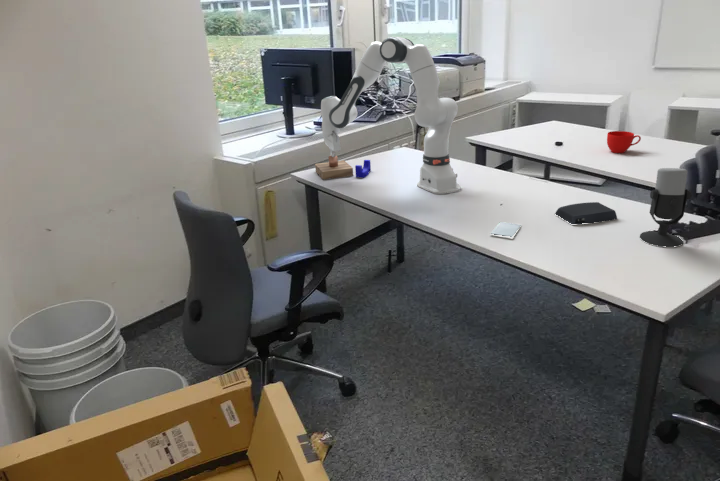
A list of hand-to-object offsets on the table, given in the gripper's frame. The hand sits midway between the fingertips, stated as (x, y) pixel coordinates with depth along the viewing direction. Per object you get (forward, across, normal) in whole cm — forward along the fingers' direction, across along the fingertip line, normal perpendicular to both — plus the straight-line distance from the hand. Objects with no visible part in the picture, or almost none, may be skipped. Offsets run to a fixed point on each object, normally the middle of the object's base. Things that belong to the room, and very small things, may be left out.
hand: (332, 156), depth 261 cm
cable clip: (+10, -8, -14) cm, 19 cm away
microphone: (+10, -127, -83) cm, 152 cm away
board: (+9, 0, 0) cm, 9 cm away
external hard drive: (+10, -100, -74) cm, 125 cm away
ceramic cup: (+10, -30, -155) cm, 158 cm away
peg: (+9, 0, 0) cm, 9 cm away
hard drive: (+10, -100, -39) cm, 108 cm away
